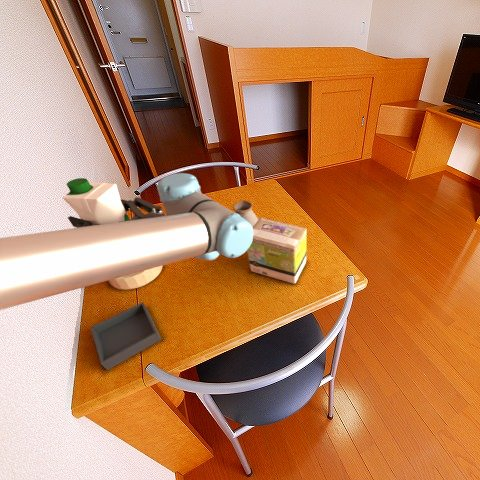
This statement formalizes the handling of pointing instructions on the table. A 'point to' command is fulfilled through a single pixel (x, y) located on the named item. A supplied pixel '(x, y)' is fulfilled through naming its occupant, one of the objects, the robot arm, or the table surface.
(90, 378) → the table surface
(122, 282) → the bowl
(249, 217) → the coffee pot
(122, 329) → the tray
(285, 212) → the table surface
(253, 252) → the tea box
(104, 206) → the milk carton
